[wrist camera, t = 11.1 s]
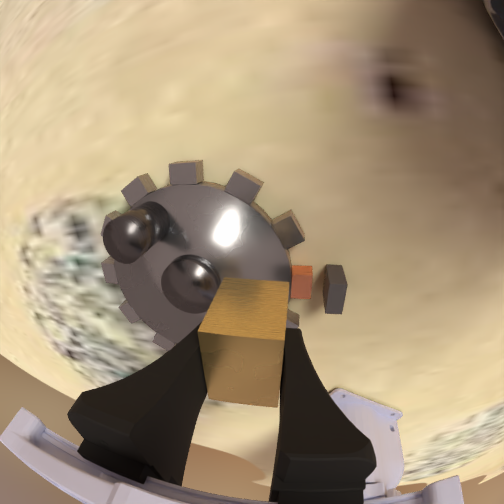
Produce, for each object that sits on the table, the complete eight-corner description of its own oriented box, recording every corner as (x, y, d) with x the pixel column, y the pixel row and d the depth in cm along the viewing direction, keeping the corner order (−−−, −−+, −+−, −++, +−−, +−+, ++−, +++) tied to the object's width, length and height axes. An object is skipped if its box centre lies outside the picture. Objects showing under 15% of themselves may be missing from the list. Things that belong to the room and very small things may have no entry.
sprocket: (232, 113, 14) (206, 104, 10) (346, 313, 18) (355, 362, 14) (80, 232, 19) (39, 257, 15) (185, 369, 23) (166, 409, 18)
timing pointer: (322, 292, 18) (325, 313, 16) (326, 264, 17) (329, 283, 15) (337, 292, 18) (341, 314, 16) (341, 265, 17) (347, 284, 15)
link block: (224, 277, 13) (197, 330, 9) (289, 281, 13) (284, 340, 9) (227, 341, 15) (208, 398, 11) (283, 347, 14) (277, 407, 11)
